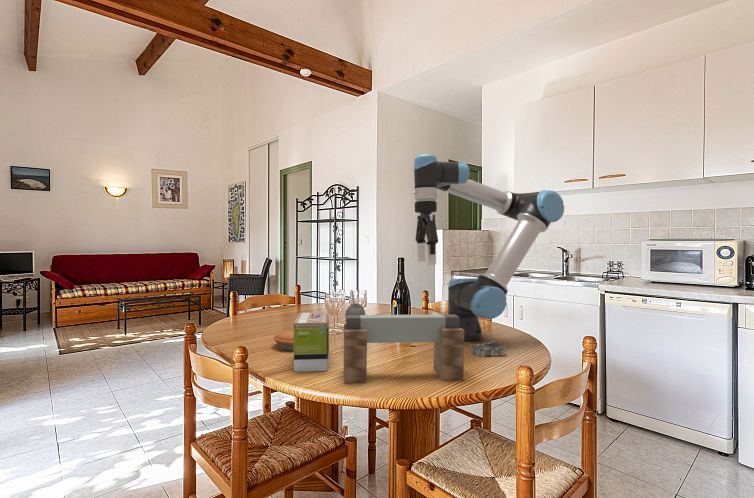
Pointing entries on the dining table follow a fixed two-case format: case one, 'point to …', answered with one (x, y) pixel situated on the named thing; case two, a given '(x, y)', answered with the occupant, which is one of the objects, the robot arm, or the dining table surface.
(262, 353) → the dining table surface
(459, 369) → the posts
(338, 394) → the dining table surface
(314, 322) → the tea box
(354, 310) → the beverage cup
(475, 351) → the egg carton
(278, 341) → the pie
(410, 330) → the bed rail
